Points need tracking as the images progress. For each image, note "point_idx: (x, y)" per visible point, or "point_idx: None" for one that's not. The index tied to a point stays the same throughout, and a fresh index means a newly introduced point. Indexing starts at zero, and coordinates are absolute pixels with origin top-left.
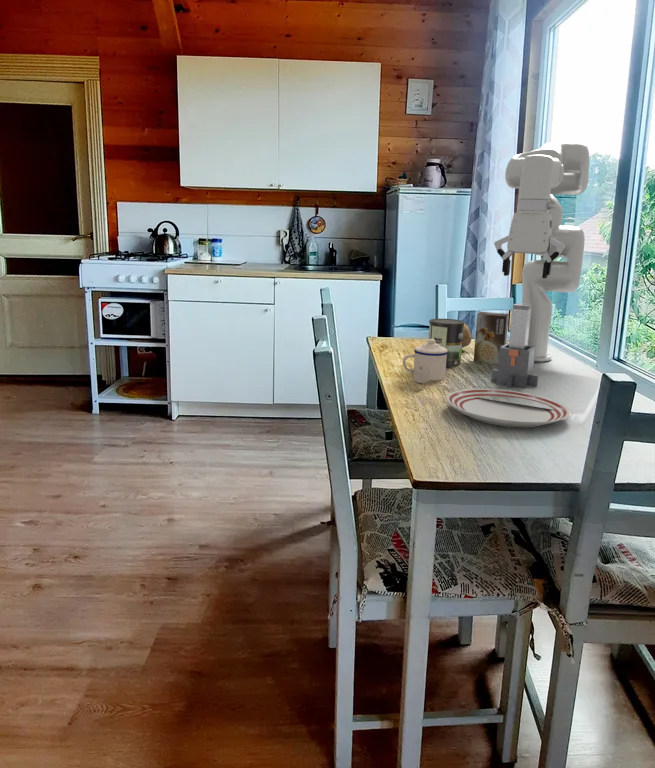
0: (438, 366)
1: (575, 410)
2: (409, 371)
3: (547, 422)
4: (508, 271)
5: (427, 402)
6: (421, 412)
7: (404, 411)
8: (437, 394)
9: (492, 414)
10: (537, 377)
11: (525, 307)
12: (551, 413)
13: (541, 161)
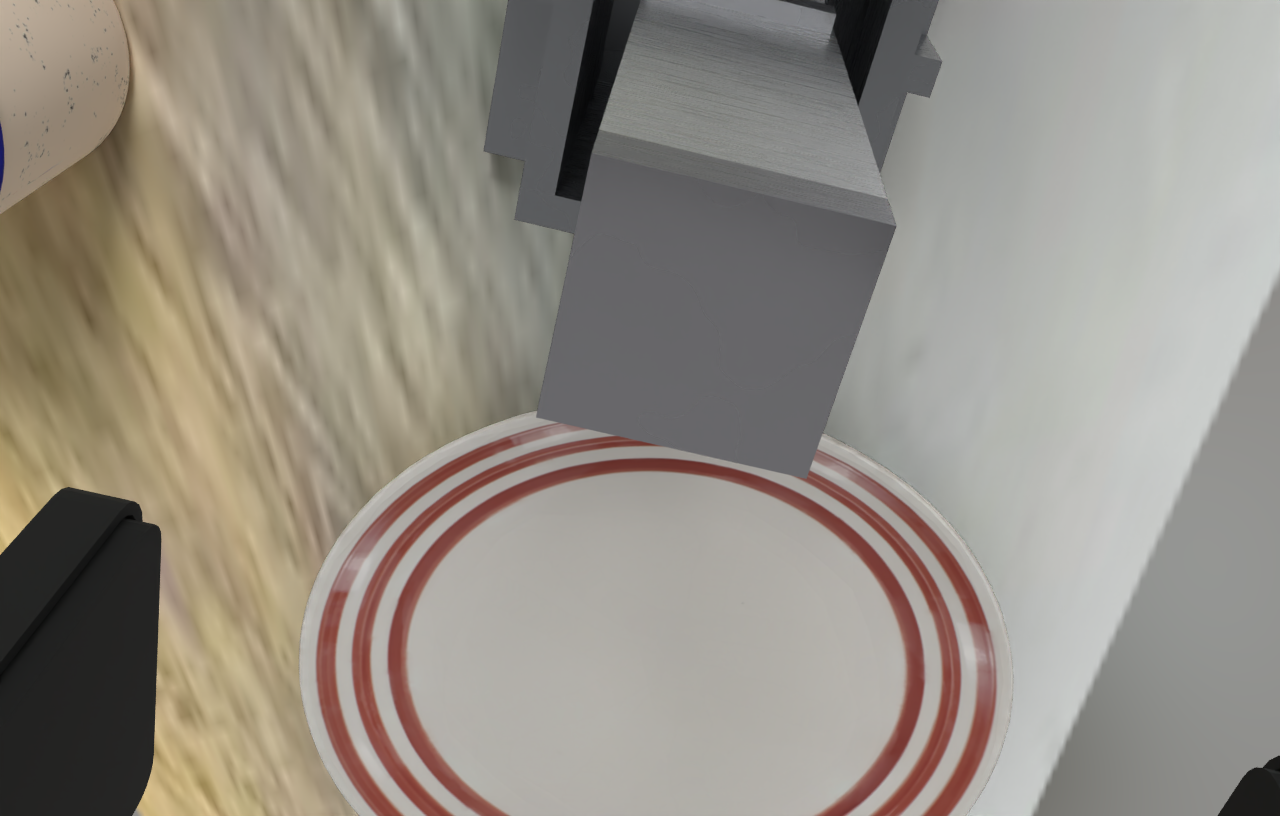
0: (23, 197)
1: (1108, 471)
2: None
3: None
4: (107, 708)
5: (194, 574)
6: (225, 736)
7: None
8: (192, 394)
9: (584, 737)
10: (925, 94)
11: (753, 456)
12: (915, 656)
13: None
